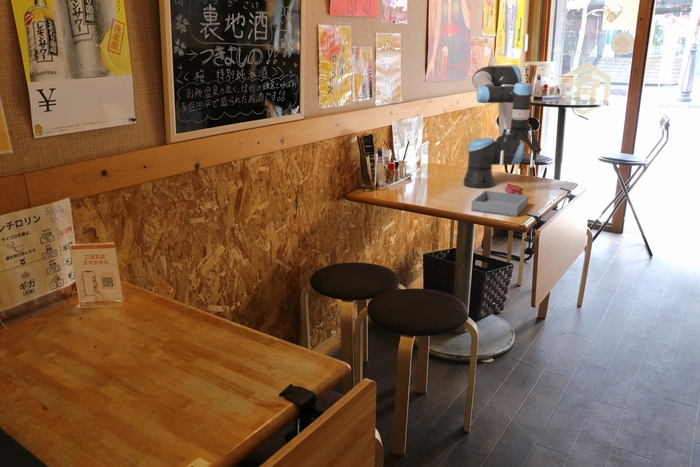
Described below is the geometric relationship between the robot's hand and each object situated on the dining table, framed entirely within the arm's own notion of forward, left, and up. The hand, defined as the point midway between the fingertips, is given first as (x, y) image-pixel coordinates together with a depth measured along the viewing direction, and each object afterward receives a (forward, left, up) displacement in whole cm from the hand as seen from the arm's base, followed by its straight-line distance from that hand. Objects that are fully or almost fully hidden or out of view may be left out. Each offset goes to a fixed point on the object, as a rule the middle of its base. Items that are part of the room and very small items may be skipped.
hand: (516, 165), depth 263 cm
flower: (0, 0, -16) cm, 16 cm away
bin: (-1, -20, -15) cm, 25 cm away
